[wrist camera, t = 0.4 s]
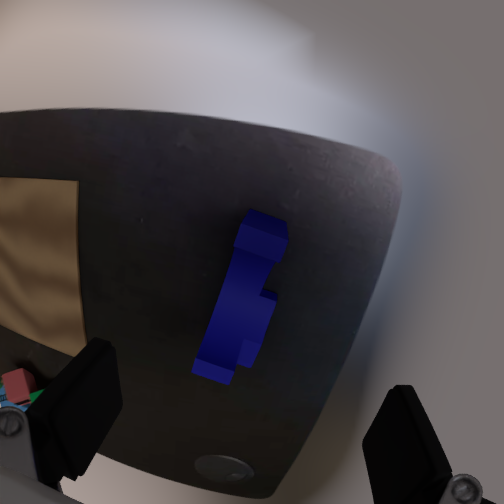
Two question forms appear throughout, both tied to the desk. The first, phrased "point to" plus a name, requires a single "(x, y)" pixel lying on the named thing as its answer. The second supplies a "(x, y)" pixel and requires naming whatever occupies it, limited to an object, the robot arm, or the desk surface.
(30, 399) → the building blocks
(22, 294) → the cork mat
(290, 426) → the desk surface
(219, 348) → the blue cradle bracket
